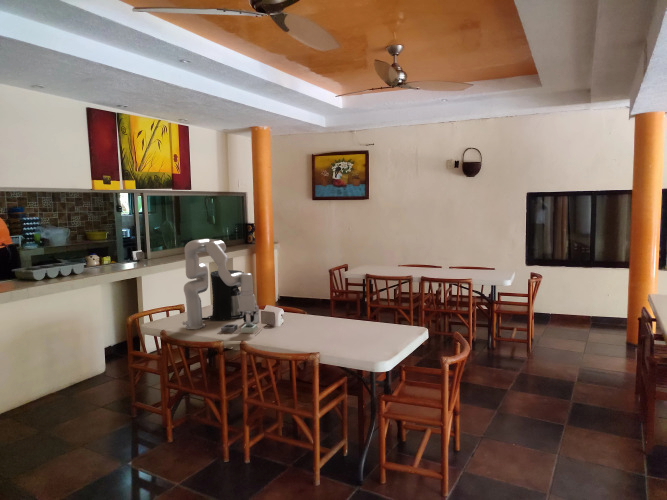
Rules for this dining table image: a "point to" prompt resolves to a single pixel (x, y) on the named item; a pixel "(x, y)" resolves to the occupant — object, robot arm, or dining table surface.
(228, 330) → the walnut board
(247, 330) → the dock socket
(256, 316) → the supplement box
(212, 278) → the coffee maker
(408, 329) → the dining table surface
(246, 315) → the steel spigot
